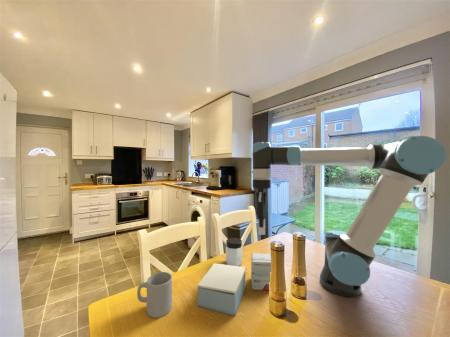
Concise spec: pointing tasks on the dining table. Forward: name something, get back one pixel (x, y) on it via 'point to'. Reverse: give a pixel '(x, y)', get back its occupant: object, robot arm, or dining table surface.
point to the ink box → (260, 271)
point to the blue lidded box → (221, 299)
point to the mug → (157, 294)
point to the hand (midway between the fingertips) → (261, 233)
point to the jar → (234, 252)
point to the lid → (223, 278)
